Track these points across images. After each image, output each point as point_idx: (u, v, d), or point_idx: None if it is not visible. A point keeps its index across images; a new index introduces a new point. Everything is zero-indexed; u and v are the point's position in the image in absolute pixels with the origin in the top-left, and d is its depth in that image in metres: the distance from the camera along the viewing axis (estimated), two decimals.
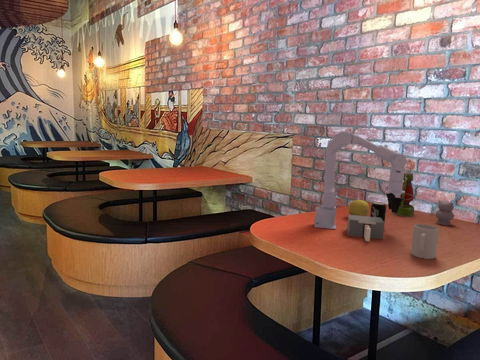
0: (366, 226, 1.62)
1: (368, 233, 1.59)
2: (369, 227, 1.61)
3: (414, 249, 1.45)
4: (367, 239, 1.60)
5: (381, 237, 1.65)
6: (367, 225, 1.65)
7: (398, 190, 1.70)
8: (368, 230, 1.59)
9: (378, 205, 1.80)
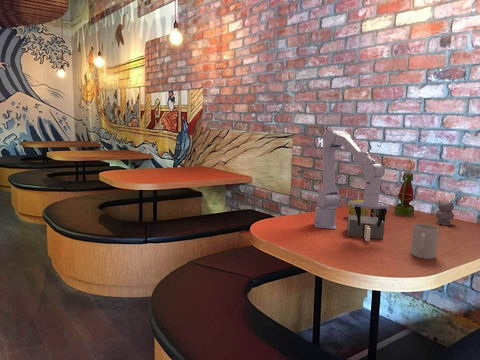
0: (366, 226, 1.62)
1: (368, 233, 1.59)
2: (369, 227, 1.61)
3: (414, 249, 1.45)
4: (367, 239, 1.60)
5: (381, 237, 1.65)
6: (367, 225, 1.65)
7: (364, 202, 1.59)
8: (368, 230, 1.59)
9: None
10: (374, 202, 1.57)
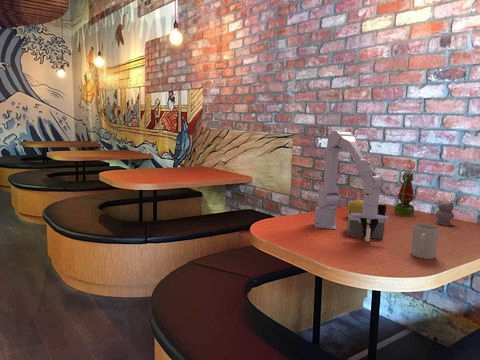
0: None
1: (368, 233, 1.59)
2: (369, 227, 1.61)
3: (414, 249, 1.45)
4: (367, 239, 1.60)
5: (381, 237, 1.65)
6: (367, 225, 1.65)
7: (363, 213, 1.60)
8: (368, 230, 1.59)
9: (378, 205, 1.80)
10: (373, 213, 1.57)
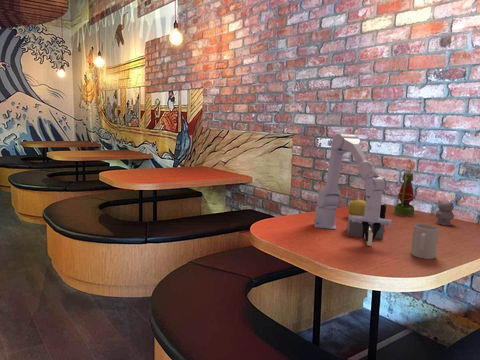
0: None
1: (370, 237, 1.53)
2: (371, 231, 1.55)
3: (414, 249, 1.45)
4: (369, 244, 1.53)
5: (381, 237, 1.65)
6: (369, 229, 1.58)
7: (364, 216, 1.53)
8: (370, 234, 1.53)
9: None
10: (375, 217, 1.51)
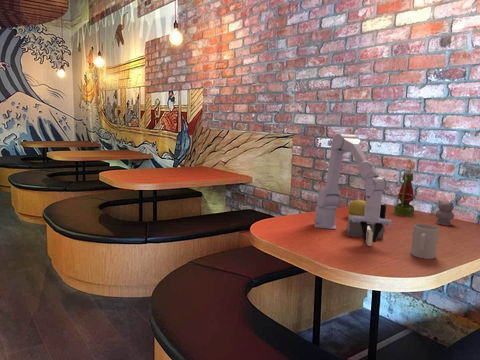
0: (368, 230, 1.55)
1: (370, 237, 1.53)
2: (371, 231, 1.55)
3: (414, 249, 1.45)
4: (369, 244, 1.53)
5: (381, 237, 1.65)
6: (369, 229, 1.58)
7: (364, 216, 1.53)
8: (370, 234, 1.53)
9: None
10: (375, 217, 1.51)
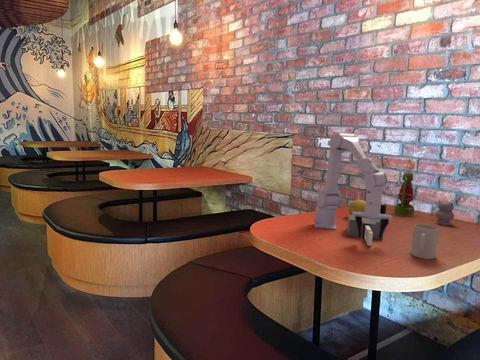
0: (368, 230, 1.55)
1: (370, 237, 1.53)
2: (371, 231, 1.55)
3: (414, 249, 1.45)
4: (369, 244, 1.53)
5: (381, 237, 1.65)
6: (369, 229, 1.58)
7: (365, 212, 1.53)
8: (370, 234, 1.53)
9: None
10: (375, 212, 1.51)
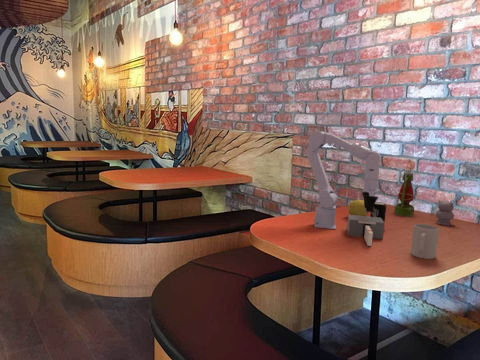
0: (368, 230, 1.55)
1: (370, 237, 1.53)
2: (371, 231, 1.55)
3: (414, 249, 1.45)
4: (369, 244, 1.53)
5: (381, 237, 1.65)
6: (369, 229, 1.58)
7: (373, 189, 1.68)
8: (370, 234, 1.53)
9: (378, 205, 1.80)
10: None
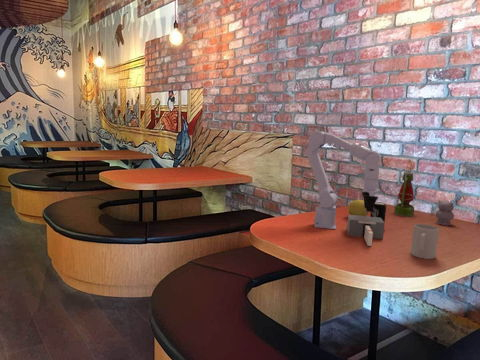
0: (368, 230, 1.55)
1: (370, 237, 1.53)
2: (371, 231, 1.55)
3: (414, 249, 1.45)
4: (369, 244, 1.53)
5: (381, 237, 1.65)
6: (369, 229, 1.58)
7: (373, 189, 1.69)
8: (370, 234, 1.53)
9: (378, 205, 1.80)
10: None
